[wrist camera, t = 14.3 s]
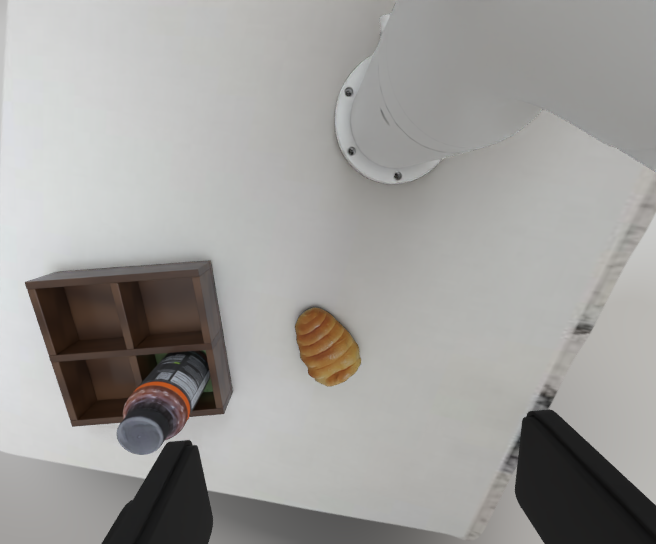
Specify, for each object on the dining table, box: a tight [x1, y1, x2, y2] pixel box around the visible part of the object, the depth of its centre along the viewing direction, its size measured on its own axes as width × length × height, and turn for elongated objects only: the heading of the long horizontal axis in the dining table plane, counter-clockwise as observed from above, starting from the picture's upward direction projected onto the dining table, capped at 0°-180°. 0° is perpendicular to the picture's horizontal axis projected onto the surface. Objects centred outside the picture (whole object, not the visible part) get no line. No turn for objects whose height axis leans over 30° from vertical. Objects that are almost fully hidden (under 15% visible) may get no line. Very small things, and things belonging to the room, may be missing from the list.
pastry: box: [295, 307, 361, 386], centre depth 37 cm, size 9×7×4 cm
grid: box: [25, 261, 233, 427], centre depth 36 cm, size 17×17×4 cm
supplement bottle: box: [117, 351, 210, 455], centre depth 33 cm, size 6×6×11 cm
